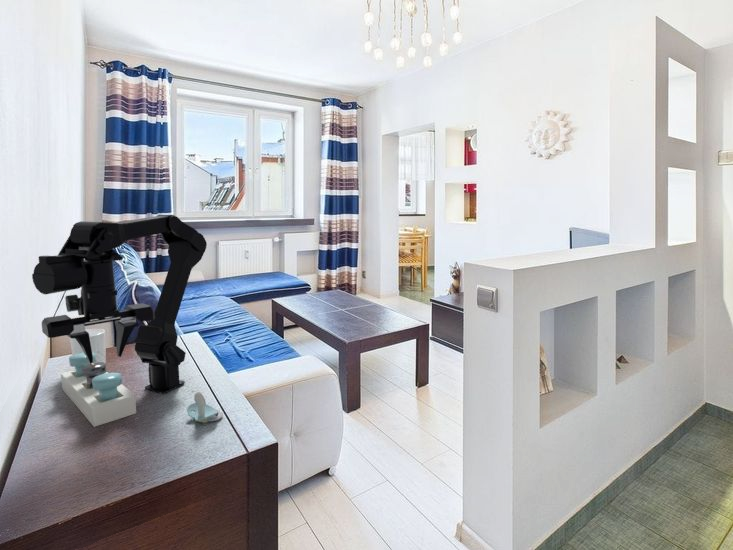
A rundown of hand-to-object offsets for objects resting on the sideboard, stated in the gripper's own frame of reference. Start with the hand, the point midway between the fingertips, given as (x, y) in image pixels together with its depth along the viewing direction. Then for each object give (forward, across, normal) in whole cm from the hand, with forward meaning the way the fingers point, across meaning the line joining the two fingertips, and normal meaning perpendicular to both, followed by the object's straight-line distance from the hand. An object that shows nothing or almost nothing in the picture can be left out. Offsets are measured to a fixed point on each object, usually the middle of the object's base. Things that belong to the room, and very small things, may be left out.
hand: (105, 359), depth 87 cm
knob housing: (+12, 0, -9) cm, 15 cm away
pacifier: (+12, -13, +16) cm, 24 cm away
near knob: (+8, 0, 0) cm, 8 cm away
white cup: (+12, -4, -31) cm, 34 cm away
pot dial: (+8, 0, -9) cm, 12 cm away
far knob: (+8, 0, -18) cm, 20 cm away
